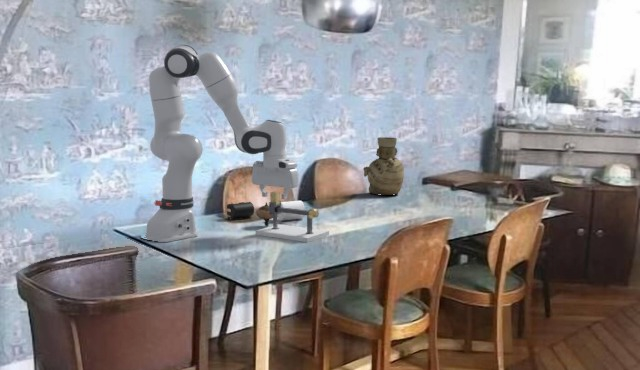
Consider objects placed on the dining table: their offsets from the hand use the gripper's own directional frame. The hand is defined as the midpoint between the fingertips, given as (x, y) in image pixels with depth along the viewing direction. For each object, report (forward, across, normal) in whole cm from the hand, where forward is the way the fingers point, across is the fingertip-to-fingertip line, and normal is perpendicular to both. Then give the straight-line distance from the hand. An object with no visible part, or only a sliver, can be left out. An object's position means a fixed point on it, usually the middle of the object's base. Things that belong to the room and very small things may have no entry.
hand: (274, 197), depth 271 cm
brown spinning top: (+14, -10, +8) cm, 19 cm away
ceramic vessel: (+12, -6, +108) cm, 109 cm away
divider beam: (+12, +8, 0) cm, 15 cm away
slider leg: (+12, 0, 0) cm, 12 cm away
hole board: (+14, +8, 0) cm, 16 cm away
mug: (+14, -8, +24) cm, 28 cm away
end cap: (+14, -30, +16) cm, 36 cm away
